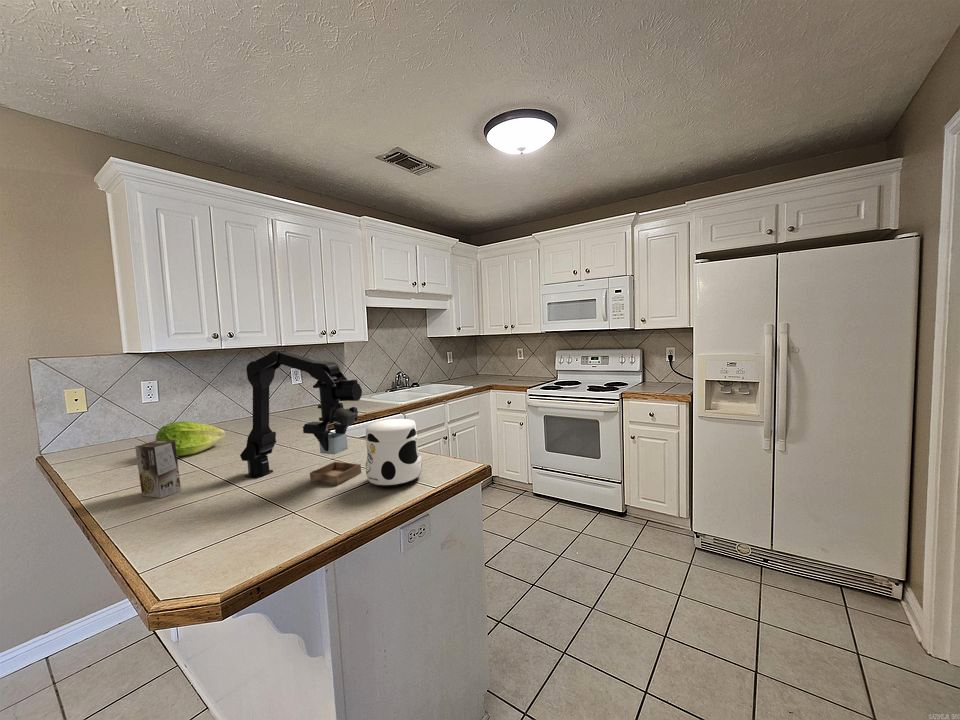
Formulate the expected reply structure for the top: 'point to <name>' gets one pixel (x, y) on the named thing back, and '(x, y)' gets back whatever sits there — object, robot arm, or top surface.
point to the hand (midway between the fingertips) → (333, 448)
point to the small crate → (335, 443)
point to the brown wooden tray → (335, 473)
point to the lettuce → (190, 436)
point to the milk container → (392, 452)
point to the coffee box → (158, 468)
